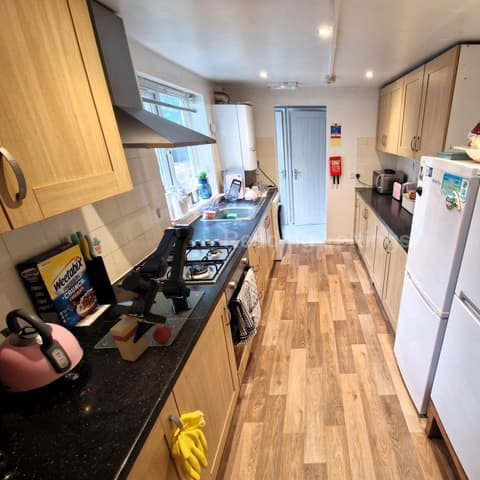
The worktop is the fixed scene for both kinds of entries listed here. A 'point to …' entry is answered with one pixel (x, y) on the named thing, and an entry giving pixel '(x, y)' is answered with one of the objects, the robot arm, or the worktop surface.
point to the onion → (161, 334)
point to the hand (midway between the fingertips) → (128, 342)
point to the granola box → (128, 338)
